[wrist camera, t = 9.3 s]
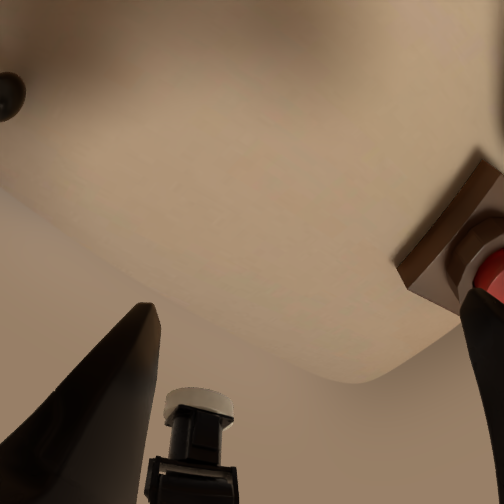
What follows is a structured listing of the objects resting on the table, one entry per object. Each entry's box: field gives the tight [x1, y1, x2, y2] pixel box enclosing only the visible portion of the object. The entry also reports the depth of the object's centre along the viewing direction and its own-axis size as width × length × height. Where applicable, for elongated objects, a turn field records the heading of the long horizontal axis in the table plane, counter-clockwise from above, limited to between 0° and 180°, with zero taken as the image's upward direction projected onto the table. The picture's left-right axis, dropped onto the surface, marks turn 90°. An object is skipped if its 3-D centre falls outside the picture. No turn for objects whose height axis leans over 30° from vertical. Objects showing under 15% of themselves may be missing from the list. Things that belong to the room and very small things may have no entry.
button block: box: [397, 159, 504, 316], centre depth 18 cm, size 10×8×4 cm
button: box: [474, 248, 504, 303], centre depth 16 cm, size 4×4×2 cm
